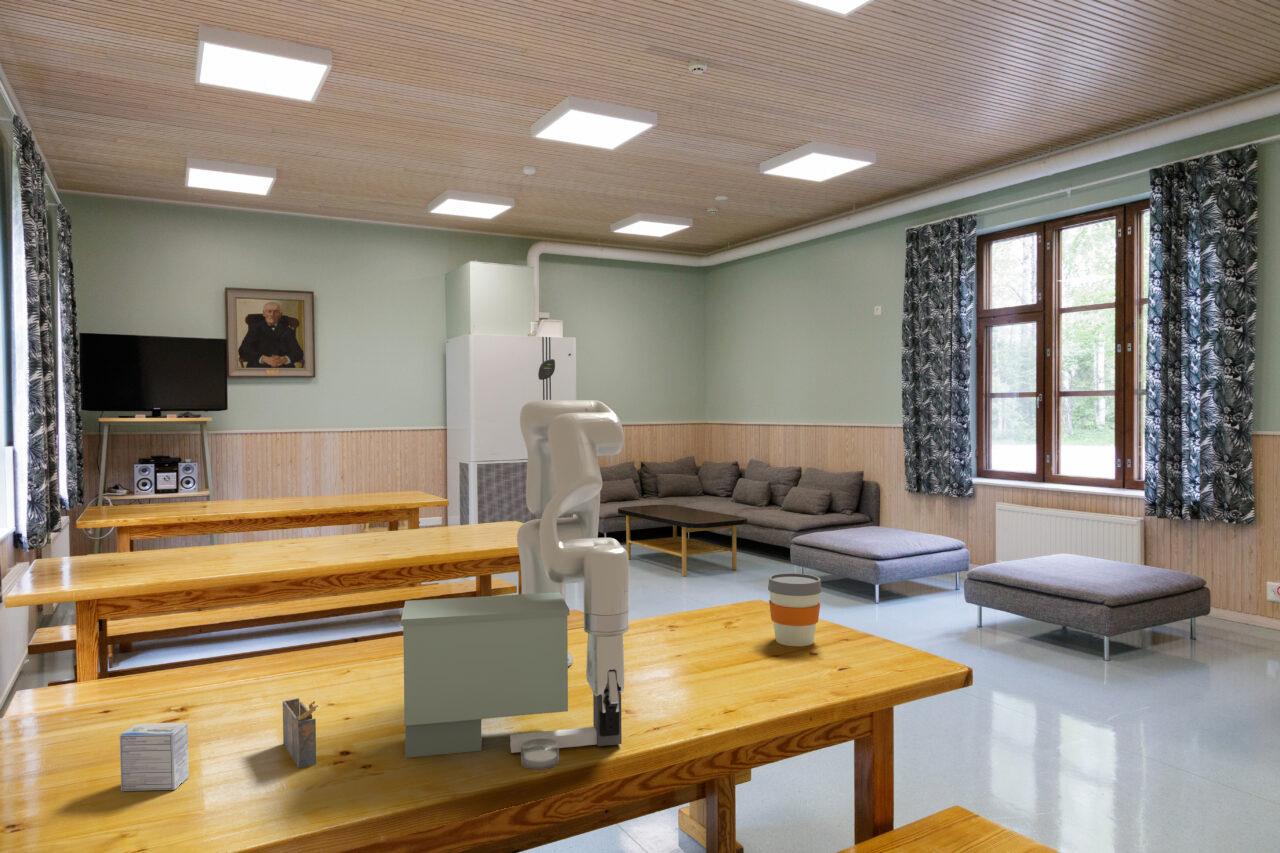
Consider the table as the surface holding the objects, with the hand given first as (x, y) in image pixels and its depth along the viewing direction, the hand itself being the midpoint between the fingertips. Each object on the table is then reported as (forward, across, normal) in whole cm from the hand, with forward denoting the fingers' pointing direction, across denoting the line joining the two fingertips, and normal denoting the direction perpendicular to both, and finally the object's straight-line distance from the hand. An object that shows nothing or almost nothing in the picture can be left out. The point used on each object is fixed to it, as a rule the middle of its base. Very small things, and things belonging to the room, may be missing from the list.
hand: (606, 728), depth 138 cm
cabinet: (+3, -6, -20) cm, 21 cm away
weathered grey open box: (+3, -8, -49) cm, 50 cm away
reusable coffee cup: (+3, -48, +54) cm, 73 cm away
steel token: (+3, +4, -12) cm, 13 cm away
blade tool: (+2, 0, -7) cm, 7 cm away
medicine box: (+3, -1, -68) cm, 69 cm away
